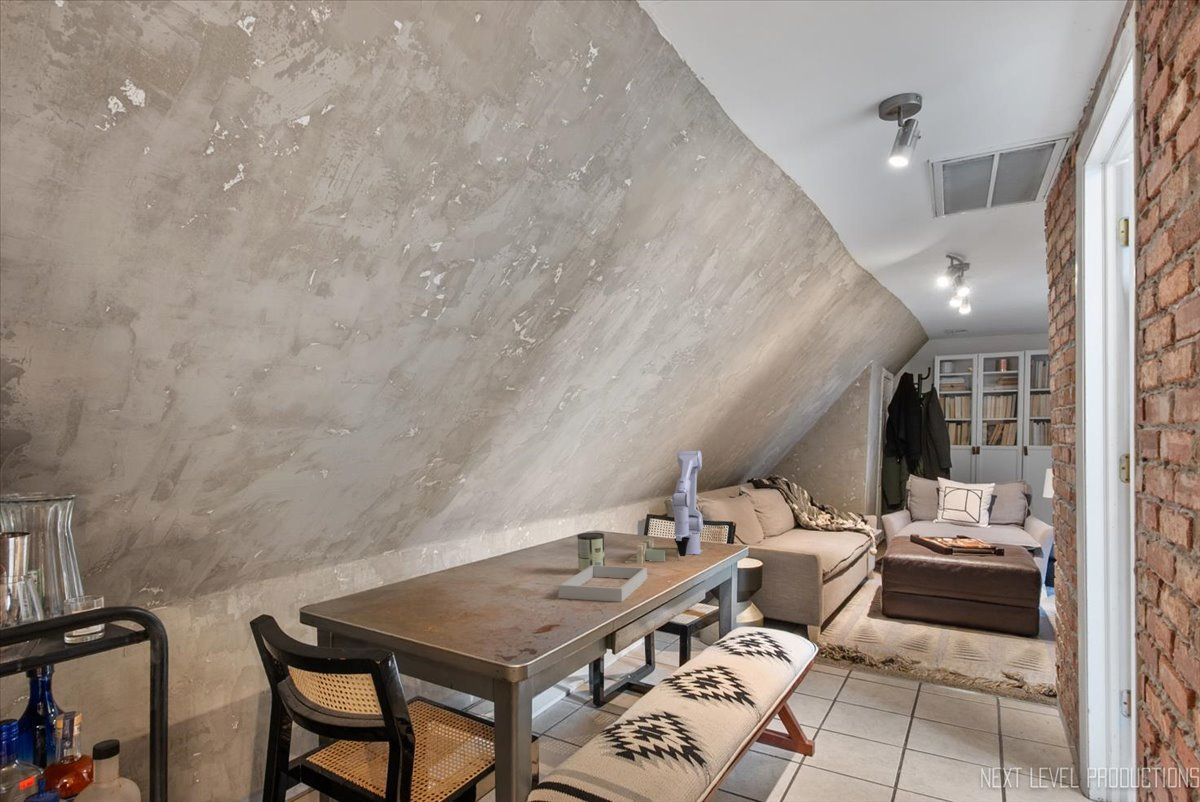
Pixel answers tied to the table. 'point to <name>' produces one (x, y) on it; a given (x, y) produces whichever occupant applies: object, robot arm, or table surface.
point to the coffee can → (590, 550)
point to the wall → (641, 552)
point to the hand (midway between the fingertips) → (682, 555)
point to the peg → (669, 552)
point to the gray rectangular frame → (576, 591)
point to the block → (655, 554)
